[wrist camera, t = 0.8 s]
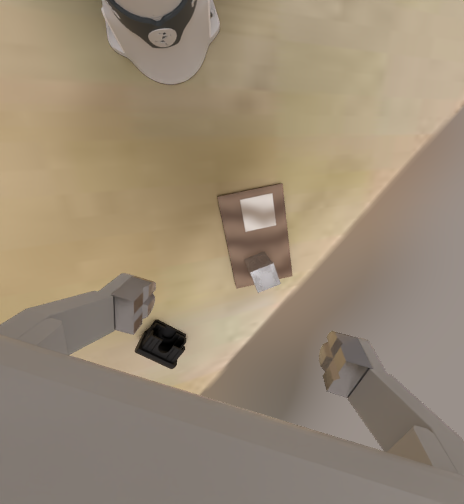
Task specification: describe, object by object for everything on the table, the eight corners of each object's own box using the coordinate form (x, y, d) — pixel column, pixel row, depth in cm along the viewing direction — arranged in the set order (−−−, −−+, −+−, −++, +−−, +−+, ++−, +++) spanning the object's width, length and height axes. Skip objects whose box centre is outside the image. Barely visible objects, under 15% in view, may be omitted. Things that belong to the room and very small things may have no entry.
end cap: (140, 337, 56) (131, 357, 49) (154, 317, 54) (147, 336, 48) (173, 353, 58) (169, 374, 52) (188, 335, 57) (185, 354, 51)
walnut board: (217, 196, 46) (219, 199, 39) (280, 183, 47) (293, 184, 40) (235, 285, 54) (240, 301, 47) (290, 273, 54) (302, 287, 47)
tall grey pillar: (244, 259, 50) (250, 272, 43) (264, 251, 50) (273, 263, 43) (251, 277, 52) (258, 292, 45) (270, 269, 52) (280, 283, 44)
